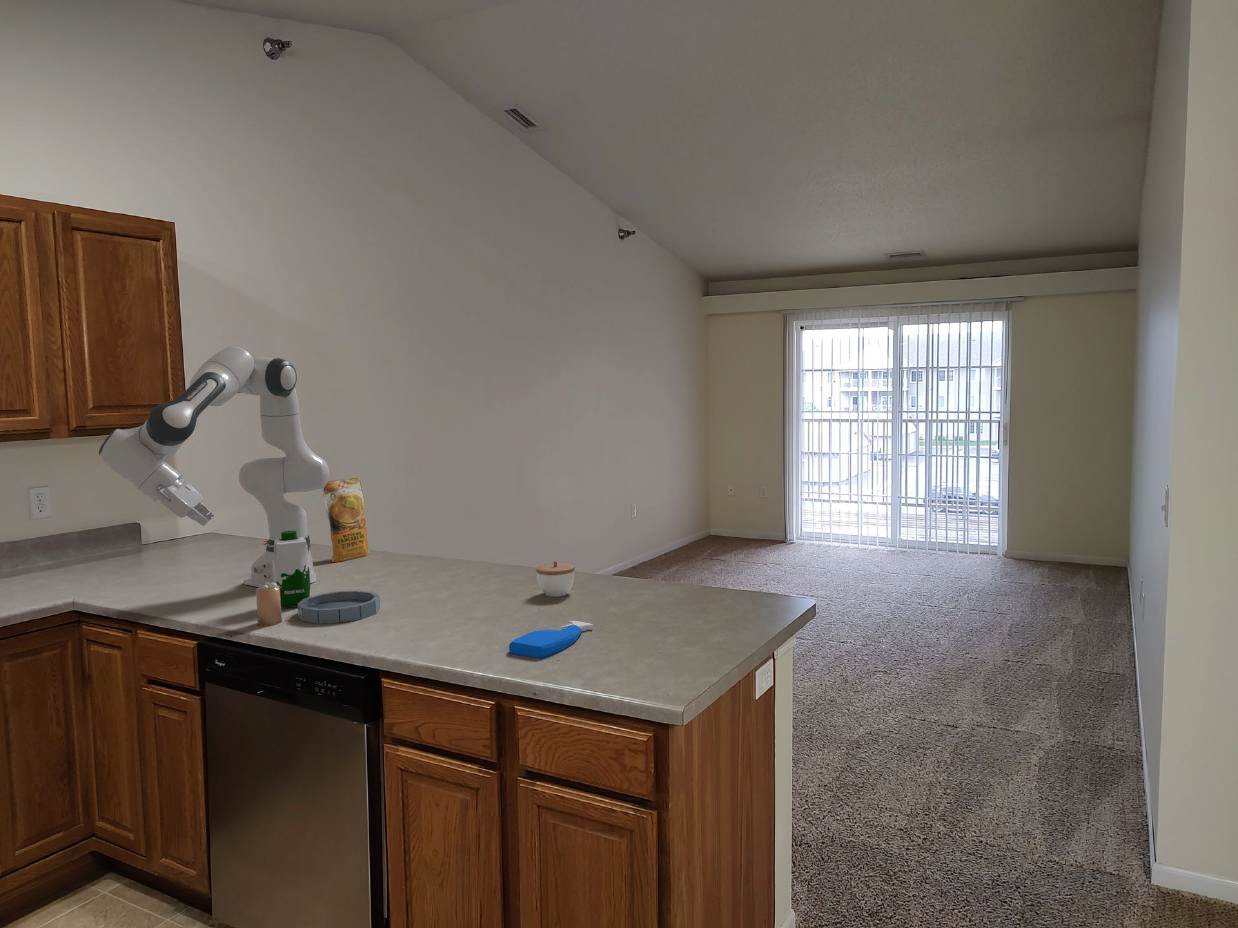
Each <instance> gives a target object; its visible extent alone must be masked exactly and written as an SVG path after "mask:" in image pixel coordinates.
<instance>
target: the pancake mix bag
mask: <svg viewBox="0 0 1238 928" xmlns="http://www.w3.org/2000/svg"><path fill="white" fill-rule="evenodd" d="M322 496H323V500H324V504H325V512H326V517H327V520H328V523H329V528H330V529H329V530H330V540H331V545H332V556H331V561H332V563H336V562H339V563H340V562H345V561H350V560H355V559H359V558H363V557H366V556H368V555H369V553H370V552H369V551H370V550H369V546H368V545H369V544H368V543H369V539H368V538H369V537H368V526H367V525H368V522H367V511H366V501H365V496H364V493H363V487H362V484H361V480H360V479H359V478H358V477H352V478H347V479H334V480H328V482H327V484H326V485H325V486H324V487H323V488H322Z"/></svg>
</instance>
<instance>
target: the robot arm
mask: <svg viewBox="0 0 1238 928" xmlns="http://www.w3.org/2000/svg"><path fill="white" fill-rule="evenodd" d="M297 377H298V376H297V371H296V368H295V367H294V365H293V363H291V362H290V361H289V360H286V359H284V358H283V359H282V358H280V357H276V358H273V357H269V356H261V355H258V356H257V355H255V356H252V355H251V353H250V352H249V351H248V350H246V349H244V348H242V347H241V346H236V345H232V346H226V347H224V349H221V350H220V351H218V352H217V353H215V354H214V355H212V356H211V357H210V358H208V360H206V361H205V362H204V363H203V364H201V366H200V367H199V368H198V369H197V370H196V371H195V373H194V374H193V376H192V377H191V379H190V381H189V386H188V388H187V389H185V390H184V391H183V392H182V393H181V394H180V395H179V396H178V397H176V398H175V399H172V400H168V401H166V402H163V403H160V404H158V405H155V407H154V408H153V409H152V410H151V411H150V413H149V415H148V417H147V419H146V420H145V422H144V423H143V425H140V426H137V427H131V428H127V429H126V428H125V429H120V428H116V429H114V430H113V431H112V432H110V433H109V434H108V436H107V437H106V438H105V440H104V441H103V442H102V444H101V446H100V447H99V449H98V455H99V457H100V459H101V461H103V462H104V464H106V465H107V466H108V467H109V468H110V469H111V470H112V471H114V472H115V474H117V475H118V476H120V477H121V478H122V479H125V480H126V481H129V482H130V483H132V485H134V487H135V489H137V490H138V491H139V492H140V493H142V494H143V495H145V496H146V497H147V498H148V499H150V500H151V501H152V502H154V503H155V502H157V501H159V502H160V503H161V504H162V505H163V506H164V507H165V508H167V509H168V510H169V511H170V512H171V513H173V514H174V515H175V516H176V517H178V518H180V519H183V518H185V517H188V518H189V519H190V520H193V521H194V522H196V523H198V524H200V526H203V527H205V526H206V525H207V524H208V522H209V521H210V520H212V519H213V517H215V514H214V513H213V512H212V511H211V510H209V508H208V507H207V506H206V505H205V504H204V503H202V502H203V501H204V500H205V498H204V497H203V495H202V494H201V493H200V492H198V490H197V489H195V487H193V486H192V485H191V484H190V483H189V482H188V481H186V479H184V475H183V474H182V473H181V472H179V471H178V470H176V469H174V468H173V467H172V466H171V465H170V464H169V463H168V462H166V461H168V460H169V459H171V458H173V456H175V455H176V453H177V452H178V450H180V448H181V447H182V446H183V445H184V443H185V442H186V441H187V440H188V439H189V438H190V437H191V436H192V434H193V433H194V431H195V428H196V425H197V420H198V417H199V415H201V414H202V413H203V412H204V411H205V410H206V409H207V408H208V407H209V406H211V407H220V406H223V405H224V404H225V403H228V401H230V400H231V399H232V398H234V397H235V395H237V394H244V395H245V394H246V395H253V396H259V413H260V414H259V415H260V416H259V417H260V425H261V426H260V427H261V436H262V438H263V439H262V440H263V441H264V442H266V443H267V444H268V445H270V446H271V447H274V448H277V449H279V450H281V451H282V452H283V453H284V454H285V456H283V457H260V458H256V459H252V460H247V461H245V462H244V463H243V464H242V466H241V467H240V469H239V473H238V482H239V484H240V486H241V488H242V489H243V490H244V492H246V493H248V494H249V495H251V496H252V497H254V498H255V499H256V500H257V502H259V504H260V505H261V506H262V507H263V509H264V512H265V515H266V518H267V526H268V536H269V539H268V540H264V541H263V546H266V548H265V551H264V552H263V553H262V554H261V555H260V556H259V557H258V558H257V559H256V560H255V561H254V562H253V563H252V564H251V568H250V570H251V571H250V576H251V577H248V578H246V579H244V580H243V581H242V584H243V583H244V584H243V585H247V586H251V587H256V588H259V587H261V586H262V584H263V583H264V582H269V583H270V584H271V583H276V578H275V563H274V540H279V539H281V532H285V531H296V532H297V537H298V538H300V537H303V538H304V539H305V540H306V542H307V546H308V556H309V571H310V584H312V583H314V582H316V581H317V573H316V572H315V569H314V563H313V556H312V552H311V551H310V548H311V539H310V535H308V534H309V532H308V516H307V512H306V510H305V509H304V508H303V507H301V506H299V505H297V504H295V503H293V502H289V501H288V500H287V499H286V498H285V495H284V494H289V493H293V494H294V493H308V492H314V491H317V490H322V489H323V487H324V486H325V485H326V484H327V482H328V481H330V473H331V471H330V468H329V465H328V463H327V462H326V461H325V459H323V458H322V457H320V456H318V455H317V454H316V453H315V452H313V450H311V448H310V447H309V446H308V444H307V443H306V441H305V438H304V434H303V430H302V424H301V423H302V421H301V412H300V411H301V410H300V404H299V397H298V393H297V389H296V384H297V379H298V378H297Z"/></svg>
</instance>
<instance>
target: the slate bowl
mask: <svg viewBox="0 0 1238 928" xmlns="http://www.w3.org/2000/svg"><path fill="white" fill-rule="evenodd" d="M380 610H381V597H380V594H378V593H377V592H374V591H368V590H339V591H330V592H326V593H319V594H315V595H312V596H310V597H308V598H305V599H303V600H302V601H300V602H299V603H298V607H297V616H298V618H299V620H301V621H302V622H305V623H311V624H319V625H320V624H321V625H322V624H337V623H338V624H339V623H345V622H352V621H358V620H362V619H365V618H368V617H371V616H374V615H376V614H377V613H378V612H379V611H380Z"/></svg>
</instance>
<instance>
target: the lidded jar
mask: <svg viewBox="0 0 1238 928" xmlns="http://www.w3.org/2000/svg"><path fill="white" fill-rule="evenodd" d="M575 567H576V566H575V565H574V564H571V563H564V562H563V563H562V562H560V563H559V562H558V561H557V560H554V561H553V563H552V562H551V563H545V564H541V565H539V566H537V567H536V569H535V571H536V577H537V578H536V580H537V584H538V586H539V588H540V590H541V591H542V592H543V593H544V594H545V596H547V597H553V598H555V597H557V598H558V597H563V596H567V595H568V593H569V592H570V590H571V589H572V587H573V585H574V581H575Z"/></svg>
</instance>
